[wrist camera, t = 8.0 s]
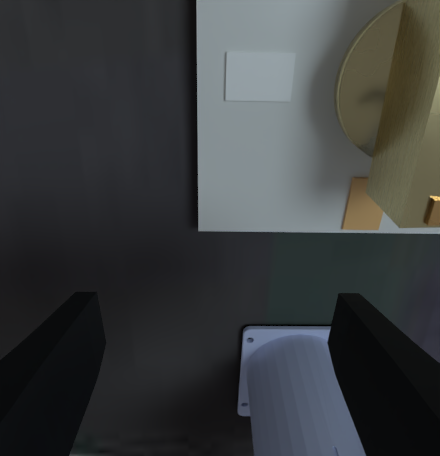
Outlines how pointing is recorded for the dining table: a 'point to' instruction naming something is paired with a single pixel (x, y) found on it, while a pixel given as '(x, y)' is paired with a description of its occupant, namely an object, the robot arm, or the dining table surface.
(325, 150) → the lock plate
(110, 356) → the dining table surface
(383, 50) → the door handle
